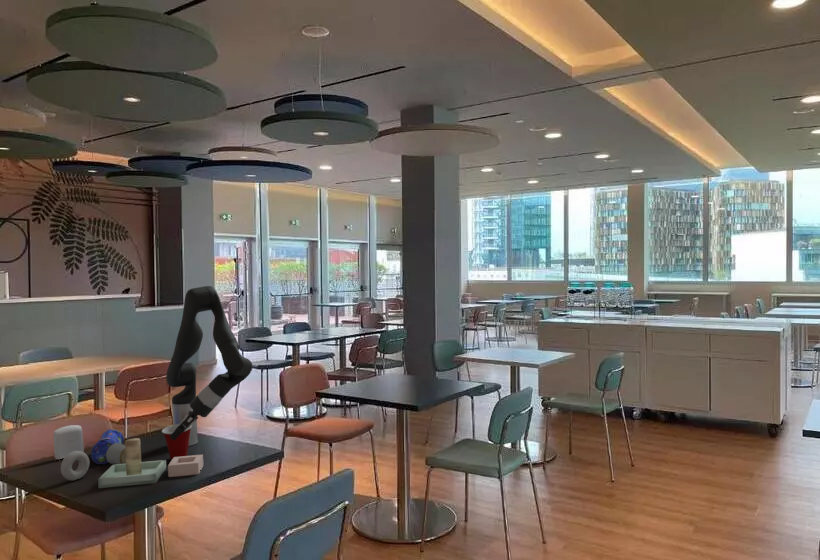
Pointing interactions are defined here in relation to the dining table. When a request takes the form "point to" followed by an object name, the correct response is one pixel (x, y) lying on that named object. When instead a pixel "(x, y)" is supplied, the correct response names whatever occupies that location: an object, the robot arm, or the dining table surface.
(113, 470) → the tray
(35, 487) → the dining table surface
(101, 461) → the pencil case
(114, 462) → the ceramic mug
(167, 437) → the plastic cup
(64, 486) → the dining table surface
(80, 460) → the donut
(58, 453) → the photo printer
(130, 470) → the dowel
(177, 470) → the socket block
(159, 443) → the dining table surface
